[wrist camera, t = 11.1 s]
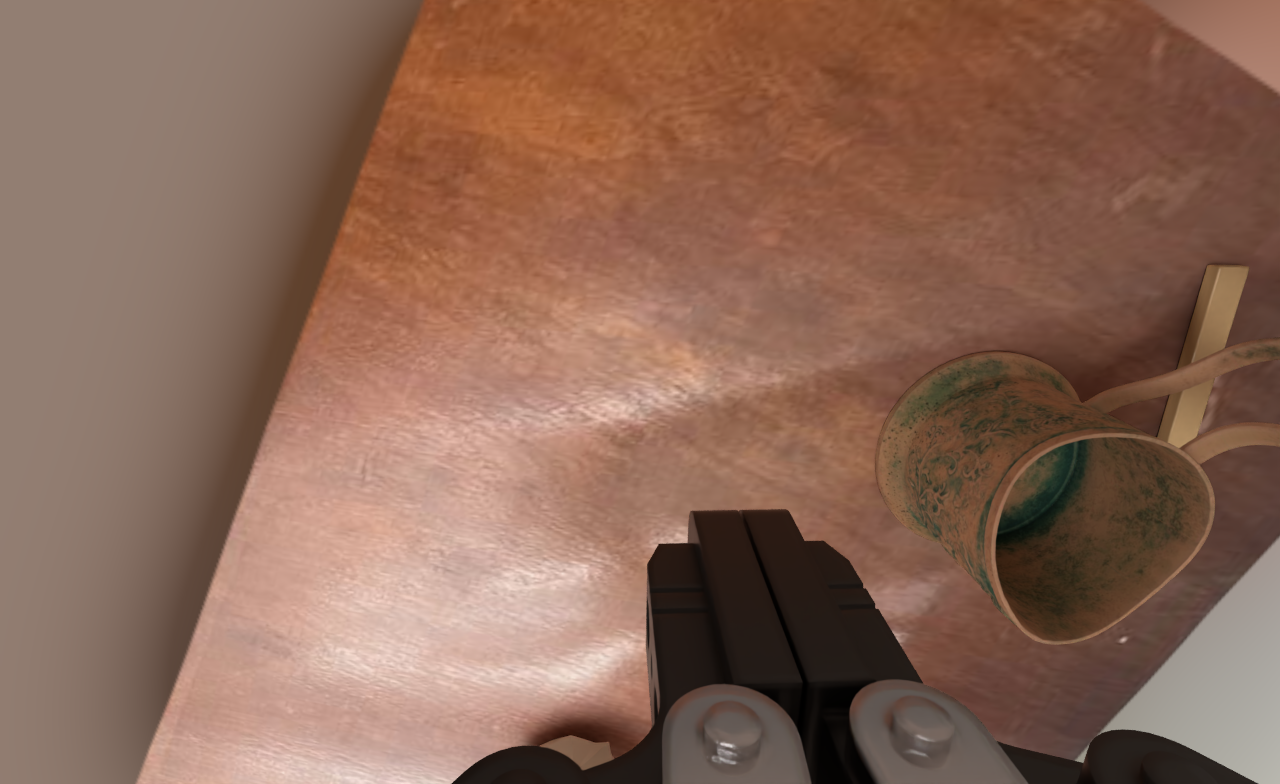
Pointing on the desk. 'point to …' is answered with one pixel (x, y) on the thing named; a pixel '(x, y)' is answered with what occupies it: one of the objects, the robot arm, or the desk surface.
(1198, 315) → the spoon
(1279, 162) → the desk surface
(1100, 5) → the desk surface
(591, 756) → the faceted club
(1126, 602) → the mug
